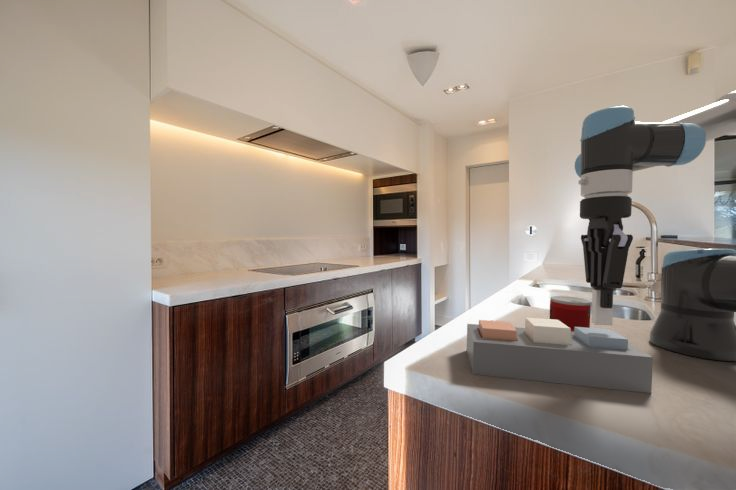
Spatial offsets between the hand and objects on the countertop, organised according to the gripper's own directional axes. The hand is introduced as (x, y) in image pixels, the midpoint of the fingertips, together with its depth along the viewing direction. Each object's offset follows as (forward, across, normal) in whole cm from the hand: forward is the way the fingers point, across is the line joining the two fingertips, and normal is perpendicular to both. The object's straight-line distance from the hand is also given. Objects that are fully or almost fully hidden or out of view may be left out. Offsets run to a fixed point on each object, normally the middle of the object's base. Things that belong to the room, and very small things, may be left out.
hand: (601, 323), depth 57 cm
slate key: (+7, 0, 0) cm, 7 cm away
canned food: (+10, -16, 0) cm, 19 cm away
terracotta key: (+6, 0, -18) cm, 20 cm away
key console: (+9, 0, -10) cm, 13 cm away
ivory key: (+5, 0, -9) cm, 11 cm away
